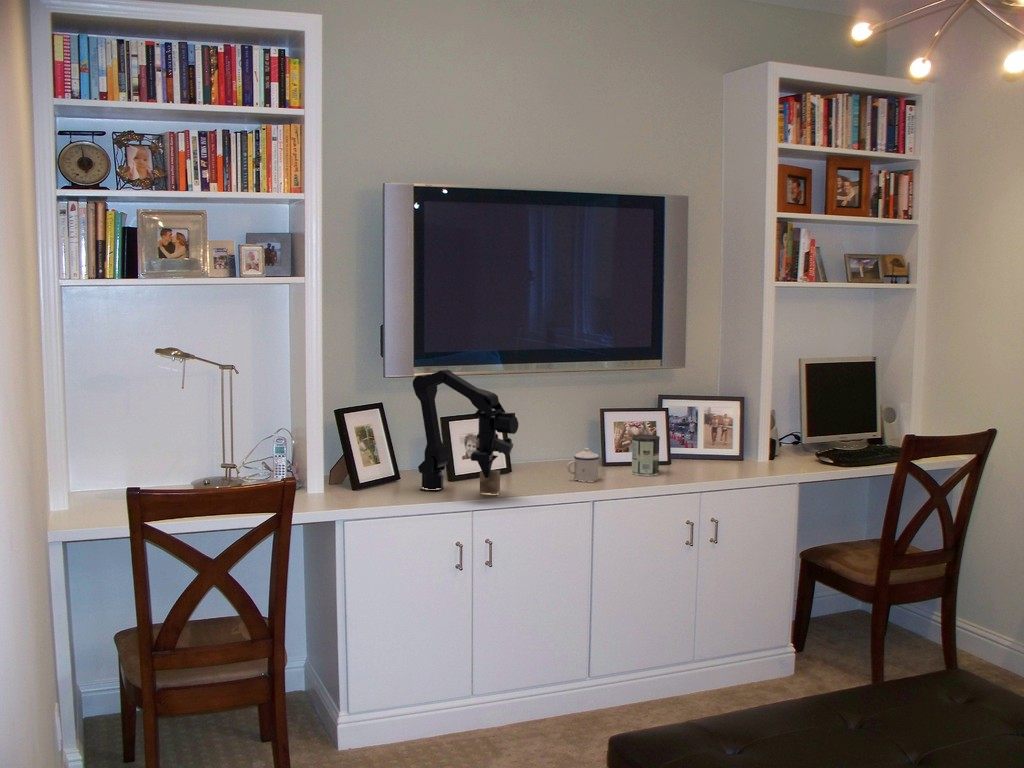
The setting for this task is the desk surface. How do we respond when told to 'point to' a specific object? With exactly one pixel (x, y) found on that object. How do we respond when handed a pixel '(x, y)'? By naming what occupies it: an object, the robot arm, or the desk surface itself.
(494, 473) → the tall walnut block
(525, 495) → the desk surface
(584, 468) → the teacup with lid
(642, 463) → the coffee can
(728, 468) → the desk surface
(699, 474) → the desk surface
